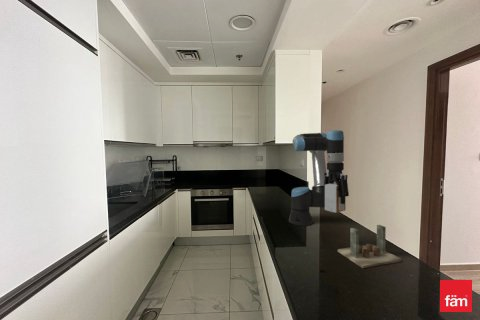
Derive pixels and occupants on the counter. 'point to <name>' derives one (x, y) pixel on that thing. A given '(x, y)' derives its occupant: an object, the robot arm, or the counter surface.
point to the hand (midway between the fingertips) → (335, 207)
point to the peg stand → (368, 250)
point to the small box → (332, 198)
